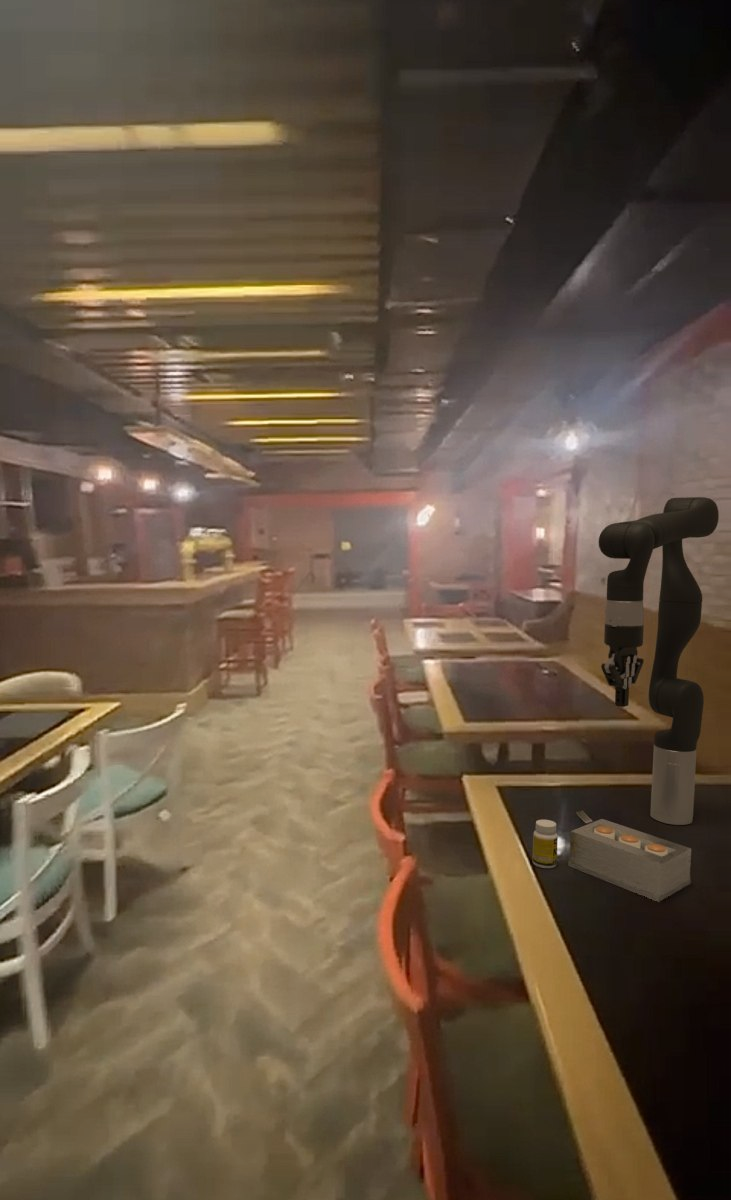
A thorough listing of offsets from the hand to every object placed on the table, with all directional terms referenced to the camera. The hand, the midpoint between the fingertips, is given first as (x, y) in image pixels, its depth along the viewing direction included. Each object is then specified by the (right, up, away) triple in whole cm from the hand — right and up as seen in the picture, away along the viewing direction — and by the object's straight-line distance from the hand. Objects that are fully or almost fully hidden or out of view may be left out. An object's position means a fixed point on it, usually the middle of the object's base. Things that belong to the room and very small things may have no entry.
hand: (621, 705), depth 152 cm
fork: (+2, -31, +15) cm, 34 cm away
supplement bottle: (-17, -31, -4) cm, 36 cm away
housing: (-2, -32, -8) cm, 33 cm away
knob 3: (+2, -31, -13) cm, 33 cm away
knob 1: (-5, -30, -4) cm, 31 cm away
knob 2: (-2, -30, -8) cm, 31 cm away
